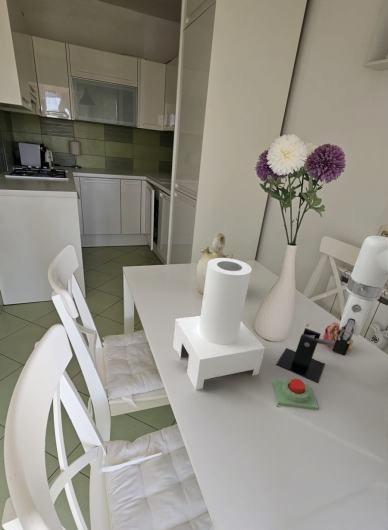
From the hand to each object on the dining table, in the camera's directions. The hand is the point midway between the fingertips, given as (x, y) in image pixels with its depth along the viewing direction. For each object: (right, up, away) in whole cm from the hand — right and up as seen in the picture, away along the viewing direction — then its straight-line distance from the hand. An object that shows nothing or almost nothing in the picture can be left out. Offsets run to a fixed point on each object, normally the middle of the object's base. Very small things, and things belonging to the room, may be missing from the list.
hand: (341, 344), depth 82 cm
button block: (-14, -14, -3) cm, 20 cm away
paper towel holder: (-34, -6, +7) cm, 35 cm away
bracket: (-8, -8, +9) cm, 14 cm away
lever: (-3, -1, +2) cm, 4 cm away
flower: (+7, -5, +19) cm, 21 cm away
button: (-14, -11, -4) cm, 18 cm away
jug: (-32, +15, +48) cm, 60 cm away
